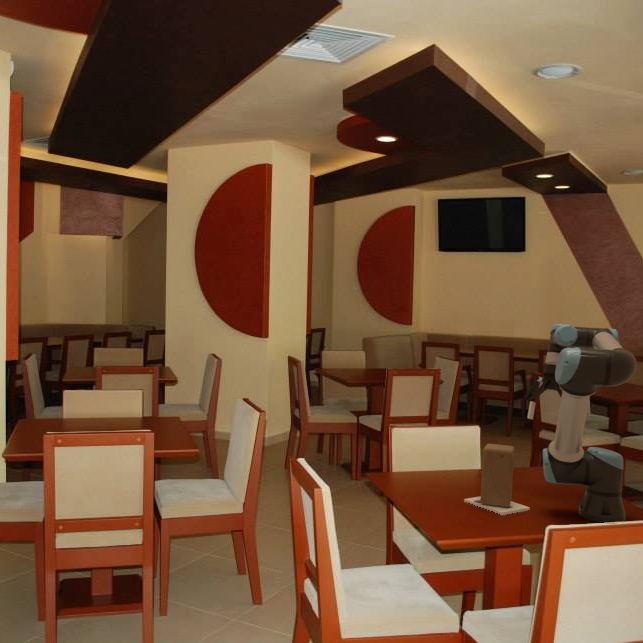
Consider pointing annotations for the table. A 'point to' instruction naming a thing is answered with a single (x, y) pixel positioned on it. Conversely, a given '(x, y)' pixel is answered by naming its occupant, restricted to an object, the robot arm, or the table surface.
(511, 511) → the letter board
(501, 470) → the wooden block
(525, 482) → the table surface
